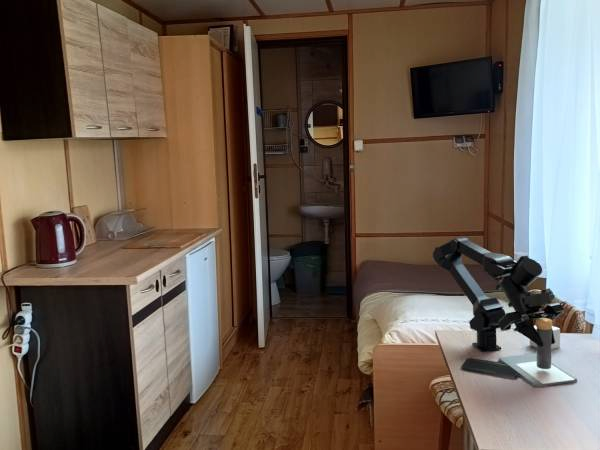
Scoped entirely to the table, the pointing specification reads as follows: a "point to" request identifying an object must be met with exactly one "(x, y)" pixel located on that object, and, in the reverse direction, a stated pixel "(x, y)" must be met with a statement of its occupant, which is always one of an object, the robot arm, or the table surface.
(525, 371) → the writing board
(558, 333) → the white cube
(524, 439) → the table surface
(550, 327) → the grey cylinder
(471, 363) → the phone
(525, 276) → the robot arm
